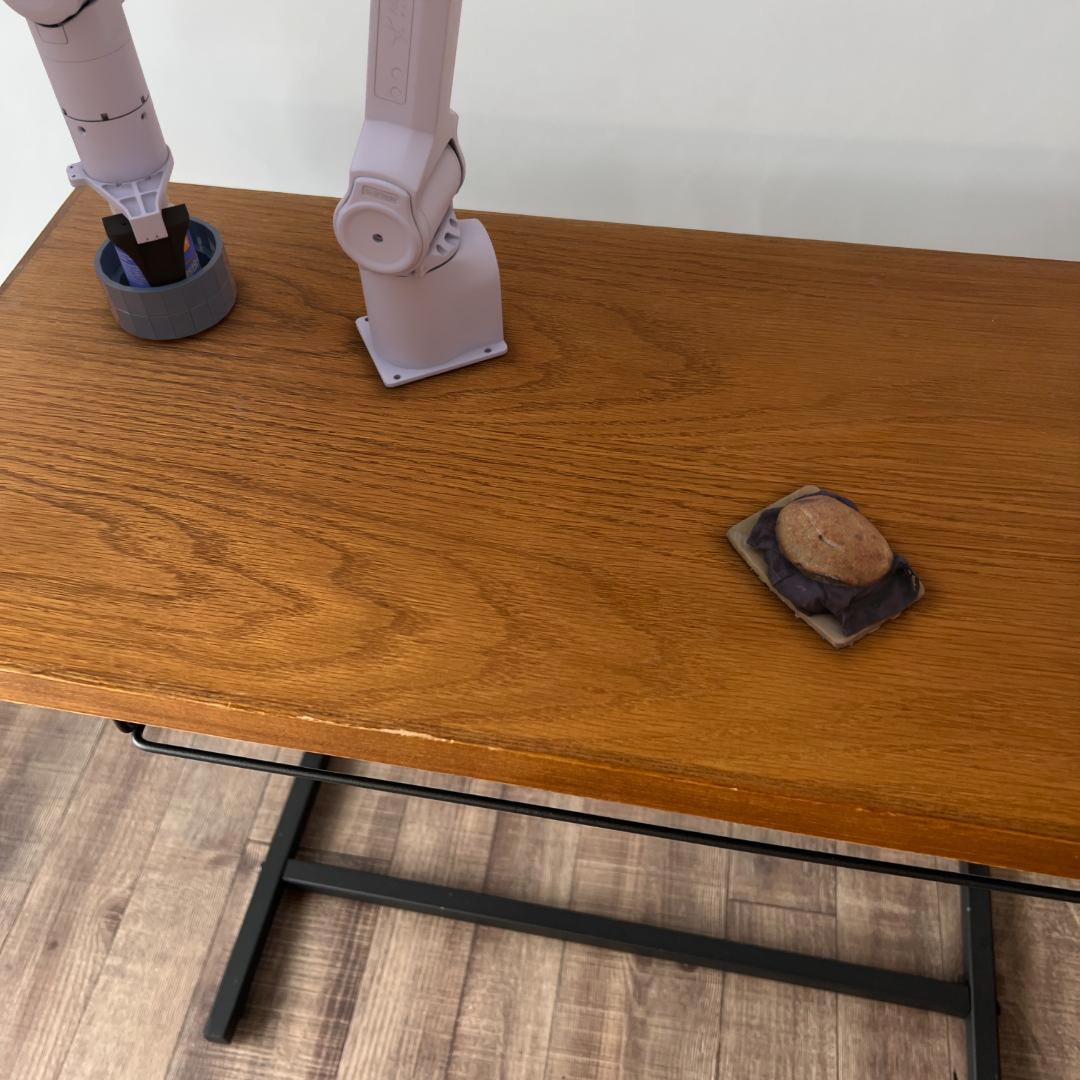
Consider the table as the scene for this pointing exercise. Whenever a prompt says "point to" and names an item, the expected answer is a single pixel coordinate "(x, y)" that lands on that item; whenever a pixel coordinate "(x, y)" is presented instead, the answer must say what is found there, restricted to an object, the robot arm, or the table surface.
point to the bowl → (171, 290)
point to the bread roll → (827, 564)
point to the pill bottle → (134, 272)
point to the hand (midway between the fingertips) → (164, 269)
